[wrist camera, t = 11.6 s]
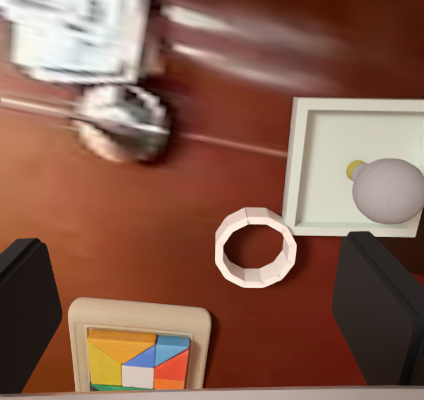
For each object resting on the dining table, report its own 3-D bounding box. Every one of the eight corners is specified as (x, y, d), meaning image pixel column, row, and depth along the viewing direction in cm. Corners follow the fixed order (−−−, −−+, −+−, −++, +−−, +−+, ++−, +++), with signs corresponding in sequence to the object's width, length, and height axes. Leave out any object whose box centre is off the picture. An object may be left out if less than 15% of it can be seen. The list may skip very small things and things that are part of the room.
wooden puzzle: (78, 401, 48) (68, 425, 45) (73, 293, 41) (61, 311, 38) (198, 411, 49) (197, 435, 45) (212, 305, 42) (212, 325, 39)
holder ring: (216, 207, 36) (216, 216, 34) (294, 208, 36) (300, 217, 34) (214, 273, 40) (214, 287, 37) (286, 275, 40) (291, 288, 37)
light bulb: (390, 150, 34) (458, 180, 24) (366, 198, 35) (421, 243, 26) (340, 135, 33) (390, 159, 24) (319, 185, 35) (357, 225, 26)
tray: (293, 96, 32) (298, 98, 30) (436, 99, 32) (450, 100, 30) (280, 227, 37) (284, 235, 35) (405, 228, 37) (415, 237, 35)
